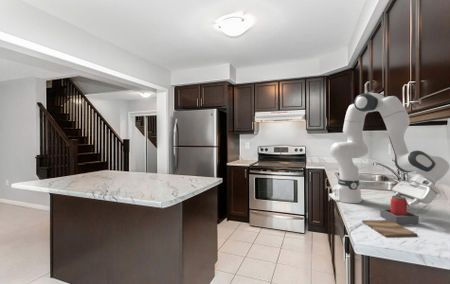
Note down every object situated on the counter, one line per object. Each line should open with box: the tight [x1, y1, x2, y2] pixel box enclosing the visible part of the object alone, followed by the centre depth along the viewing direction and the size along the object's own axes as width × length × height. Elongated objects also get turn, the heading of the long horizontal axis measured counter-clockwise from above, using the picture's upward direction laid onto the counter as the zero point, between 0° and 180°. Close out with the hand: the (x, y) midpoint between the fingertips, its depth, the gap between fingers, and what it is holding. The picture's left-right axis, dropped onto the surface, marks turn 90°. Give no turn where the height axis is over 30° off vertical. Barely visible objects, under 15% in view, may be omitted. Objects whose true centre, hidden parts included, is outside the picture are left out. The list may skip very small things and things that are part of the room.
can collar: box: [379, 208, 420, 226], centre depth 115 cm, size 11×11×4 cm
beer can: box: [390, 195, 408, 216], centre depth 115 cm, size 7×7×12 cm
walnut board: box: [361, 219, 418, 238], centre depth 105 cm, size 16×14×1 cm
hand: (401, 203), depth 115 cm, fingers open, 8 cm apart
